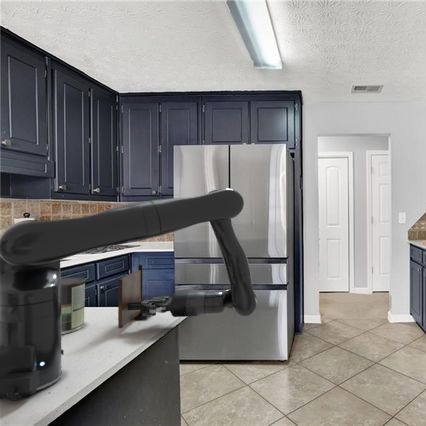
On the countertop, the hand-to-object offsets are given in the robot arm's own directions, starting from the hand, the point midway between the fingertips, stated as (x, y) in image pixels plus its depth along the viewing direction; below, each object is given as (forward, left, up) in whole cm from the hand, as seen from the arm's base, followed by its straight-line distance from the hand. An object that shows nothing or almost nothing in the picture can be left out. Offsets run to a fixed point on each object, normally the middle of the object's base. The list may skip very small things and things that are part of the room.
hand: (128, 305), depth 89 cm
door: (+3, +1, -5) cm, 6 cm away
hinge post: (+9, +1, -7) cm, 11 cm away
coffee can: (+3, +19, -7) cm, 20 cm away
